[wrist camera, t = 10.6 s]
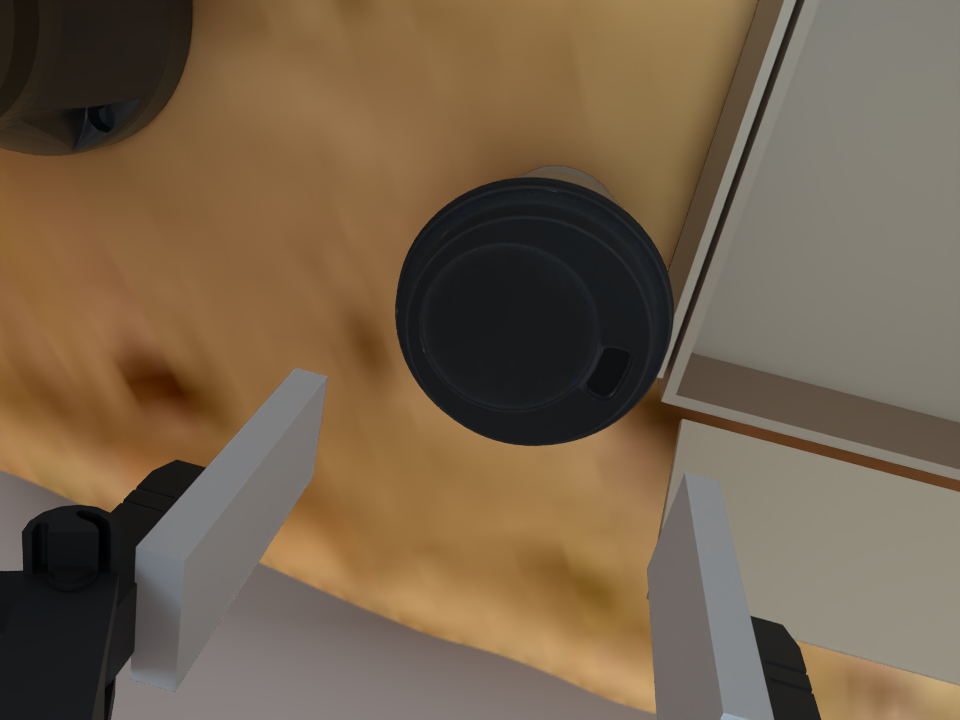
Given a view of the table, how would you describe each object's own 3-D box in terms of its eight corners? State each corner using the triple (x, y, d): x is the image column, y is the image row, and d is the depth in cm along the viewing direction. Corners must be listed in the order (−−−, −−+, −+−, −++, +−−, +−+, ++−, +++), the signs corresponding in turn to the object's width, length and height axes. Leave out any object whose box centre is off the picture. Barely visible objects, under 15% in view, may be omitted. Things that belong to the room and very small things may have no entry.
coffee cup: (655, 312, 40) (678, 466, 26) (470, 319, 42) (402, 468, 28) (653, 116, 36) (678, 179, 23) (450, 132, 38) (361, 200, 24)
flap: (682, 418, 35) (679, 420, 35) (648, 598, 32) (646, 599, 33) (1096, 527, 34) (1088, 529, 34) (1094, 721, 32) (1086, 720, 32)
